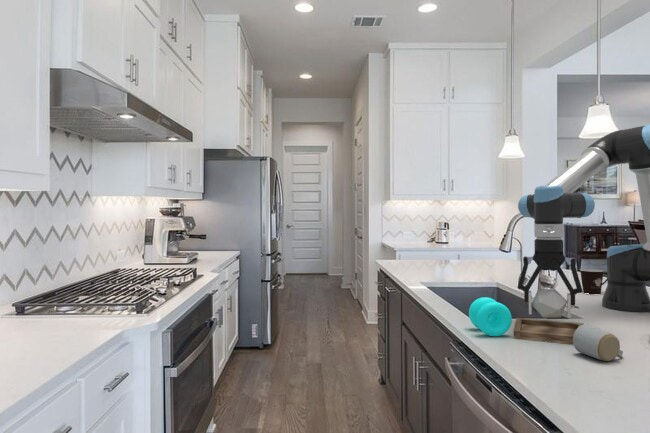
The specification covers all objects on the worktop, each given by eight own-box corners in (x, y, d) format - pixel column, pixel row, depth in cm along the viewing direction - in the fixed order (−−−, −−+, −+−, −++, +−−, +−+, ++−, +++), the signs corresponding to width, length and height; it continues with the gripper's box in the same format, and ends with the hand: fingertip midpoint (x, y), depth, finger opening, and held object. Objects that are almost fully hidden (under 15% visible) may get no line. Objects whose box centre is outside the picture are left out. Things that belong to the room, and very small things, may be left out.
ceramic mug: (599, 364, 102) (600, 333, 102) (571, 354, 110) (572, 324, 110) (632, 360, 105) (632, 329, 105) (603, 350, 113) (603, 322, 113)
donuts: (478, 337, 125) (478, 303, 125) (467, 328, 135) (467, 296, 135) (513, 337, 125) (513, 302, 125) (500, 328, 135) (499, 296, 135)
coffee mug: (583, 295, 184) (583, 271, 183) (577, 291, 192) (577, 268, 192) (615, 296, 180) (614, 272, 180) (608, 292, 188) (607, 269, 188)
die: (564, 323, 121) (576, 293, 124) (535, 307, 123) (547, 278, 125) (550, 326, 129) (561, 298, 132) (523, 311, 130) (534, 284, 133)
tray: (583, 330, 130) (583, 323, 130) (589, 346, 116) (589, 338, 116) (516, 324, 139) (516, 317, 139) (513, 338, 124) (513, 330, 124)
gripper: (506, 238, 128) (507, 314, 129) (594, 239, 119) (594, 321, 119) (508, 237, 135) (509, 309, 135) (591, 238, 125) (591, 315, 126)
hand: (549, 314), depth 127 cm, fingers closed on die, 9 cm apart
